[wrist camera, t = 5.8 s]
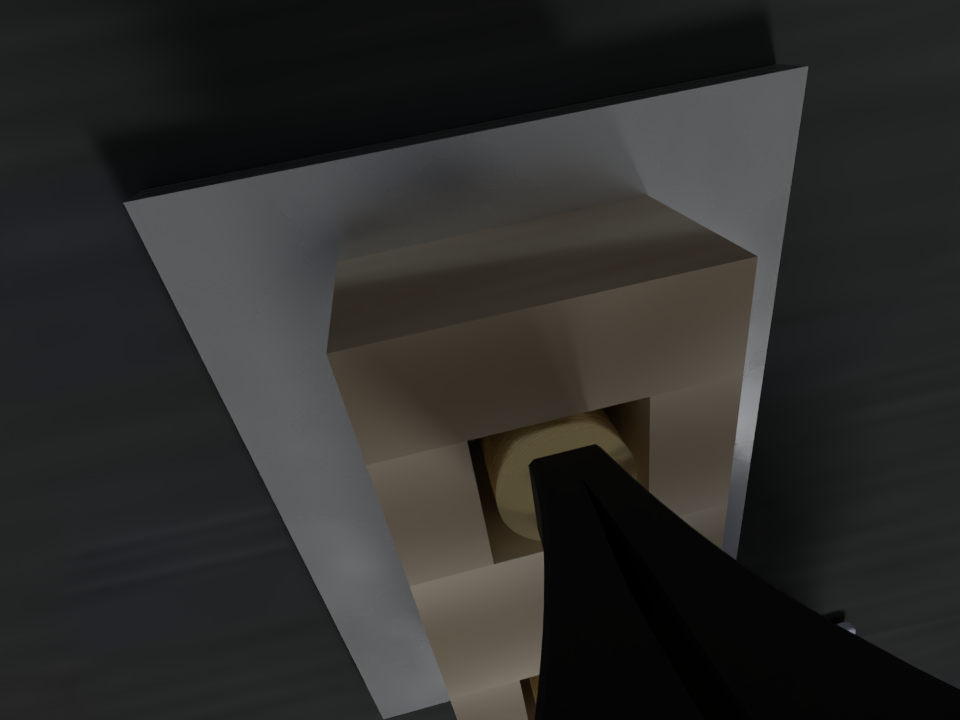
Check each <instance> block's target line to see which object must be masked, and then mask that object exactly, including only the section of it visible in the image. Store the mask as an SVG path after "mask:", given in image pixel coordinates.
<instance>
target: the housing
mask: <svg viewBox="0 0 960 720" xmlns="http://www.w3.org/2000/svg"><path fill="white" fill-rule="evenodd" d="M757 259H758V256H756V255H754V254H753V253H751V252H749V251H747V250H745V249H744V248H742V247H740V246H738V245H736V244H735V243H733V242H731V241H729V240H727V239H726V238H724V237H722V236H720V235H718V234H717V233H715V232H713V231H711V230H709V229H708V228H706V227H704V226H702V225H700V224H699V223H697V222H695V221H693V220H691V219H690V218H688V217H686V216H684V215H682V214H681V213H679V212H677V211H675V210H673V209H672V208H670V207H668V206H666V205H664V204H663V203H661V202H659V201H657V200H655V199H654V198H652V197H650V196H643V197H639V198H634V199H629V200H625V201H620V202H615V203H611V204H606V205H601V206H597V207H592V208H587V209H582V210H578V211H573V212H568V213H564V214H559V215H554V216H550V217H545V218H540V219H536V220H531V221H526V222H522V223H517V224H512V225H508V226H503V227H498V228H493V229H489V230H484V231H479V232H475V233H470V234H465V235H461V236H456V237H451V238H447V239H442V240H437V241H433V242H428V243H423V244H419V245H414V246H409V247H404V248H400V249H395V250H390V251H386V252H381V253H376V254H372V255H367V256H362V257H358V258H353V259H348V260H344V261H339V262H337V268H336V276H335V284H334V293H333V301H332V310H331V318H330V326H329V335H328V343H327V352H326V355H327V357H328V360H329V363H330V366H331V368H332V371H333V374H334V377H335V380H336V382H337V385H338V388H339V391H340V394H341V396H342V399H343V402H344V405H345V408H346V410H347V413H348V416H349V419H350V421H351V424H352V427H353V430H354V433H355V435H356V438H357V441H358V444H359V447H360V449H361V452H362V455H363V458H364V461H365V463H366V466H367V469H368V472H369V474H370V477H371V480H372V483H373V486H374V488H375V491H376V494H377V497H378V500H379V502H380V505H381V508H382V511H383V514H384V516H385V519H386V522H387V525H388V527H389V530H390V533H391V536H392V539H393V541H394V544H395V547H396V550H397V553H398V555H399V558H400V561H401V564H402V567H403V569H404V572H405V575H406V578H407V580H408V583H409V586H410V589H411V592H412V594H413V597H414V600H415V603H416V606H417V608H418V611H419V614H420V617H421V620H422V622H423V625H424V628H425V631H426V634H427V636H428V639H429V642H430V645H431V647H432V650H433V653H434V656H435V659H436V661H437V664H438V667H439V670H440V673H441V675H442V678H443V681H444V684H445V687H446V689H447V692H448V695H449V698H450V700H451V703H452V706H453V709H454V712H455V714H456V717H457V720H534V719H535V711H536V703H535V699H534V695H533V691H532V687H531V683H530V680H529V677H533V676H537V675H539V672H540V661H541V648H542V633H543V612H544V551H543V547H542V543H541V541H538V540H533V539H529V538H526V537H523V536H521V535H519V534H517V533H516V532H514V531H513V530H511V529H510V528H509V527H508V526H507V525H506V524H505V522H504V521H503V520H502V518H501V516H500V513H499V510H498V506H497V503H496V499H495V496H494V492H493V489H492V485H491V482H490V478H489V475H488V471H487V468H486V464H485V461H484V457H483V454H482V450H481V447H480V443H479V440H477V441H473V442H469V443H467V441H469V440H473V439H477V438H481V437H485V436H489V435H494V434H498V433H502V432H506V431H510V430H514V429H518V428H522V427H527V426H531V425H535V424H539V423H543V422H547V421H551V420H555V419H560V418H564V417H568V416H572V415H576V414H580V413H584V412H588V411H593V410H597V409H601V408H603V410H604V411H605V413H606V415H607V416H608V418H609V419H610V421H611V422H612V424H613V425H614V427H615V428H616V430H617V432H618V433H619V435H620V436H621V438H622V439H623V441H624V442H625V444H626V446H627V447H628V449H629V450H630V452H631V453H632V455H633V457H634V459H635V463H636V466H637V480H636V481H638V482H639V483H640V484H641V485H642V486H643V487H644V488H645V489H647V490H648V491H649V492H650V493H651V494H652V495H654V496H655V497H656V498H657V499H658V500H659V501H661V502H662V503H663V504H664V505H665V506H667V507H668V508H669V509H670V510H672V511H673V512H674V513H675V514H676V515H678V516H679V517H680V518H681V519H683V520H684V521H685V522H686V523H687V524H689V525H690V526H691V527H692V528H694V529H695V530H696V531H698V532H699V533H700V534H702V535H703V536H704V537H705V538H707V539H708V540H709V541H711V542H712V543H713V544H715V545H716V546H718V547H719V548H720V549H722V545H723V537H724V529H725V520H726V512H727V504H728V496H729V488H730V480H731V471H732V463H733V455H734V447H735V439H736V431H737V423H738V414H739V406H740V398H741V390H742V382H743V374H744V365H745V357H746V349H747V341H748V333H749V325H750V317H751V308H752V300H753V292H754V284H755V276H756V268H757Z"/></svg>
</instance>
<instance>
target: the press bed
mask: <svg viewBox="0 0 960 720" xmlns="http://www.w3.org/2000/svg"><path fill="white" fill-rule="evenodd" d="M807 72H808V66H801V65H785V64H775V65H770V66H765V67H760V68H755V69H750V70H745V71H740V72H735V73H730V74H725V75H720V76H715V77H710V78H705V79H700V80H694V81H689V82H684V83H679V84H674V85H669V86H664V87H659V88H654V89H649V90H644V91H639V92H634V93H629V94H624V95H619V96H614V97H609V98H604V99H599V100H594V101H589V102H584V103H579V104H574V105H568V106H563V107H558V108H553V109H548V110H543V111H538V112H533V113H528V114H523V115H518V116H513V117H508V118H503V119H498V120H493V121H488V122H483V123H478V124H473V125H468V126H463V127H458V128H453V129H448V130H442V131H437V132H432V133H427V134H422V135H417V136H412V137H407V138H402V139H397V140H392V141H387V142H382V143H377V144H372V145H367V146H362V147H357V148H352V149H347V150H342V151H337V152H332V153H327V154H322V155H316V156H311V157H306V158H301V159H296V160H291V161H286V162H281V163H276V164H271V165H266V166H261V167H256V168H251V169H246V170H241V171H236V172H231V173H226V174H221V175H216V176H211V177H206V178H201V179H196V180H191V181H185V182H180V183H175V184H170V185H165V186H160V187H155V188H150V189H145V190H141V191H140V192H138V193H137V194H135V195H134V196H132V197H131V198H130V199H128V200H127V201H125V202H124V205H125V207H126V209H127V211H128V213H129V215H130V217H131V219H132V221H133V223H134V225H135V227H136V229H137V231H138V233H139V235H140V237H141V239H142V241H143V243H144V245H145V247H146V249H147V251H148V253H149V255H150V257H151V259H152V260H153V262H154V264H155V266H156V268H157V270H158V272H159V274H160V276H161V278H162V280H163V282H164V284H165V286H166V288H167V290H168V292H169V294H170V296H171V298H172V300H173V302H174V304H175V306H176V308H177V310H178V312H179V314H180V316H181V318H182V320H183V322H184V324H185V326H186V328H187V330H188V332H189V334H190V336H191V338H192V340H193V342H194V344H195V346H196V348H197V350H198V352H199V354H200V356H201V358H202V360H203V362H204V364H205V366H206V368H207V370H208V372H209V374H210V376H211V378H212V380H213V382H214V384H215V386H216V388H217V390H218V392H219V394H220V395H221V397H222V399H223V401H224V403H225V405H226V407H227V409H228V411H229V413H230V415H231V417H232V419H233V421H234V423H235V425H236V427H237V429H238V431H239V433H240V435H241V437H242V439H243V441H244V443H245V445H246V447H247V449H248V451H249V453H250V455H251V457H252V459H253V461H254V463H255V465H256V467H257V469H258V471H259V473H260V475H261V477H262V479H263V481H264V483H265V485H266V487H267V489H268V491H269V493H270V495H271V497H272V499H273V501H274V503H275V505H276V507H277V509H278V511H279V513H280V515H281V517H282V519H283V521H284V523H285V525H286V527H287V528H288V530H289V532H290V534H291V536H292V538H293V540H294V542H295V544H296V546H297V548H298V550H299V552H300V554H301V556H302V558H303V560H304V562H305V564H306V566H307V568H308V570H309V572H310V574H311V576H312V578H313V580H314V582H315V584H316V586H317V588H318V590H319V592H320V594H321V596H322V598H323V600H324V602H325V604H326V606H327V608H328V610H329V612H330V614H331V616H332V618H333V620H334V622H335V624H336V626H337V628H338V630H339V632H340V634H341V636H342V638H343V640H344V642H345V644H346V646H347V648H348V650H349V652H350V654H351V656H352V658H353V660H354V662H355V663H356V665H357V667H358V669H359V671H360V673H361V675H362V677H363V679H364V681H365V683H366V685H367V687H368V689H369V691H370V693H371V695H372V697H373V699H374V701H375V703H376V705H377V707H378V709H379V711H380V713H381V715H382V717H383V719H386V718H390V717H393V716H397V715H401V714H404V713H408V712H411V711H415V710H419V709H422V708H426V707H429V706H433V705H437V704H440V703H444V702H447V701H451V700H450V698H449V695H448V692H447V689H446V687H445V684H444V681H443V678H442V675H441V673H440V670H439V667H438V664H437V661H436V659H435V656H434V653H433V650H432V647H431V645H430V642H429V639H428V636H427V634H426V631H425V628H424V625H423V622H422V620H421V617H420V614H419V611H418V608H417V606H416V603H415V600H414V597H413V594H412V592H411V589H410V586H409V583H408V580H407V578H406V575H405V572H404V569H403V567H402V564H401V561H400V558H399V555H398V553H397V550H396V547H395V544H394V541H393V539H392V536H391V533H390V530H389V527H388V525H387V522H386V519H385V516H384V514H383V511H382V508H381V505H380V502H379V500H378V497H377V494H376V491H375V488H374V486H373V483H372V480H371V477H370V474H369V472H368V469H367V466H366V463H365V461H364V458H363V455H362V452H361V449H360V447H359V444H358V441H357V438H356V435H355V433H354V430H353V427H352V424H351V421H350V419H349V416H348V413H347V410H346V408H345V405H344V402H343V399H342V396H341V394H340V391H339V388H338V385H337V382H336V380H335V377H334V374H333V371H332V368H331V366H330V363H329V360H328V357H327V355H326V352H327V343H328V335H329V326H330V318H331V310H332V301H333V293H334V284H335V276H336V268H337V262H339V261H344V260H348V259H353V258H358V257H362V256H367V255H372V254H376V253H381V252H386V251H390V250H395V249H400V248H404V247H409V246H414V245H419V244H423V243H428V242H433V241H437V240H442V239H447V238H451V237H456V236H461V235H465V234H470V233H475V232H479V231H484V230H489V229H493V228H498V227H503V226H508V225H512V224H517V223H522V222H526V221H531V220H536V219H540V218H545V217H550V216H554V215H559V214H564V213H568V212H573V211H578V210H582V209H587V208H592V207H597V206H601V205H606V204H611V203H615V202H620V201H625V200H629V199H634V198H639V197H643V196H650V197H652V198H654V199H655V200H657V201H659V202H661V203H663V204H664V205H666V206H668V207H670V208H672V209H673V210H675V211H677V212H679V213H681V214H682V215H684V216H686V217H688V218H690V219H691V220H693V221H695V222H697V223H699V224H700V225H702V226H704V227H706V228H708V229H709V230H711V231H713V232H715V233H717V234H718V235H720V236H722V237H724V238H726V239H727V240H729V241H731V242H733V243H735V244H736V245H738V246H740V247H742V248H744V249H745V250H747V251H749V252H751V253H753V254H754V255H756V256H758V259H757V268H756V276H755V284H754V292H753V300H752V308H751V317H750V325H749V333H748V341H747V349H746V357H745V365H744V374H743V382H742V390H741V398H740V406H739V414H738V423H737V431H736V439H735V447H734V455H733V463H732V471H731V480H730V488H729V496H728V504H727V512H726V520H725V529H724V537H723V545H722V550H723V551H724V552H726V553H727V554H728V555H730V556H731V557H732V558H734V559H735V560H736V558H737V551H738V545H739V538H740V531H741V524H742V517H743V510H744V504H745V497H746V490H747V483H748V476H749V469H750V462H751V456H752V449H753V442H754V435H755V428H756V421H757V414H758V408H759V401H760V394H761V387H762V380H763V373H764V367H765V360H766V353H767V346H768V339H769V332H770V325H771V319H772V312H773V305H774V298H775V291H776V284H777V278H778V271H779V264H780V257H781V250H782V243H783V236H784V230H785V223H786V216H787V209H788V202H789V195H790V188H791V182H792V175H793V168H794V161H795V154H796V147H797V141H798V134H799V127H800V120H801V113H802V106H803V99H804V93H805V86H806V79H807ZM477 440H478V438H477V439H473V440H469V441H467V443H469V442H473V441H477Z"/></svg>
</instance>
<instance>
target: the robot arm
mask: <svg viewBox="0 0 960 720" xmlns="http://www.w3.org/2000/svg"><path fill="white" fill-rule="evenodd" d="M528 466H529V473H530V479H531V486H532V493H533V500H534V507H535V514H536V521H537V528H538V532H539V536H540V539H541V543H542V547H543V551H544V612H543V633H542V648H541V661H540V672H539V682H538V692H537V702H536V711H535V719H534V720H960V690H959V689H957V688H955V687H953V686H951V685H949V684H947V683H945V682H943V681H941V680H939V679H937V678H935V677H933V676H931V675H929V674H927V673H925V672H923V671H921V670H919V669H917V668H915V667H914V666H912V665H910V664H908V663H906V662H904V661H903V660H901V659H899V658H897V657H895V656H893V655H892V654H890V653H888V652H886V651H884V650H883V649H881V648H879V647H877V646H875V645H873V644H872V643H870V642H868V641H866V640H864V639H862V638H861V637H859V636H857V635H855V632H856V630H855V629H854V627H853V626H852V625H851V624H850V623H849V622H841V623H838V624H835V623H833V622H832V621H830V620H828V619H827V618H825V617H823V616H822V615H820V614H818V613H817V612H815V611H814V610H812V609H810V608H809V607H807V606H805V605H804V604H802V603H800V602H799V601H797V600H795V599H794V598H792V597H791V596H789V595H788V594H786V593H784V592H783V591H781V590H780V589H778V588H777V587H775V586H774V585H772V584H771V583H769V582H767V581H766V580H764V579H763V578H761V577H760V576H758V575H757V574H755V573H754V572H753V571H751V570H750V569H748V568H747V567H745V566H744V565H742V564H741V563H740V562H738V561H737V560H735V559H734V558H732V557H731V556H730V555H728V554H727V553H726V552H724V551H723V550H722V549H720V548H719V547H718V546H716V545H715V544H713V543H712V542H711V541H709V540H708V539H707V538H705V537H704V536H703V535H702V534H700V533H699V532H698V531H696V530H695V529H694V528H692V527H691V526H690V525H689V524H687V523H686V522H685V521H684V520H683V519H681V518H680V517H679V516H678V515H676V514H675V513H674V512H673V511H672V510H670V509H669V508H668V507H667V506H665V505H664V504H663V503H662V502H661V501H659V500H658V499H657V498H656V497H655V496H654V495H652V494H651V493H650V492H649V491H648V490H647V489H645V488H644V487H643V486H642V485H641V484H640V483H639V482H638V481H636V480H635V479H634V478H633V477H632V476H631V475H630V474H629V473H628V472H627V471H625V470H624V469H623V468H622V467H621V466H620V465H619V464H618V463H617V462H616V461H615V460H614V459H613V458H612V457H611V456H610V455H609V454H607V453H606V452H605V451H604V450H603V449H602V448H601V447H600V446H598V445H597V444H593V445H589V446H585V447H581V448H577V449H573V450H569V451H565V452H561V453H557V454H553V455H549V456H545V457H540V458H536V459H533V461H532V462H531V463H530V464H529V465H528Z"/></svg>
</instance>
